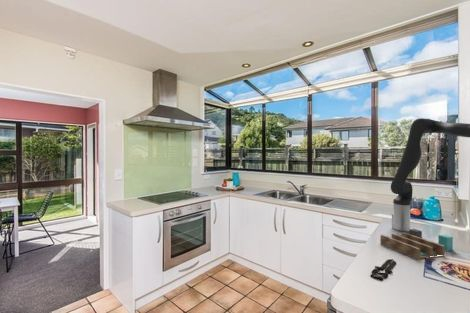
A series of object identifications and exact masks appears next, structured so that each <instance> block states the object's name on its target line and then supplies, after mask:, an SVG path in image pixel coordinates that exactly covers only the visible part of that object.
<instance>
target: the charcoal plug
mask: <svg viewBox="0 0 470 313" xmlns="http://www.w3.org/2000/svg"><path fill="white" fill-rule="evenodd" d="M408 232H409V233H408V234H411V235H414V236H417V237H420V238H423V234H422V232H423V231H422V230H420V229H416V228H410V229H409V231H408Z"/></svg>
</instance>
